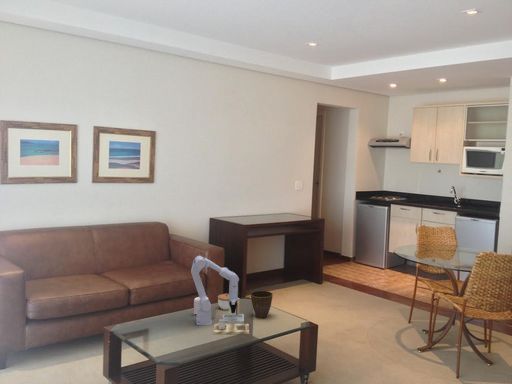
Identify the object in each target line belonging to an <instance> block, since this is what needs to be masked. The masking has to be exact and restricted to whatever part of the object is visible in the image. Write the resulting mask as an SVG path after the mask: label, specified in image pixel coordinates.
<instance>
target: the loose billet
mask: <svg viewBox="0 0 512 384" xmlns="http://www.w3.org/2000/svg"><path fill="white" fill-rule="evenodd" d="M228 314H229V315H238V314H239V303H238V304H237V306H236V310H235V313H231V307H230V305H229V310H228Z"/></svg>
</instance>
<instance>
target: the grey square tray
mask: <svg viewBox="0 0 512 384" xmlns="http://www.w3.org/2000/svg"><path fill="white" fill-rule="evenodd" d="M222 319H225V324H245V314H244V313H238V315H229V313H223V314H222Z"/></svg>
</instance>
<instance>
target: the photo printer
mask: <svg viewBox="0 0 512 384" xmlns="http://www.w3.org/2000/svg"><path fill="white" fill-rule="evenodd" d="M193 300H194V301H193V315H194V314H197V310H200V308H201V305H200V298H199V296H198V297H195V298H194V299H193ZM208 300H209V298H208ZM209 301H210V300H209Z"/></svg>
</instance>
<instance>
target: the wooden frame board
mask: <svg viewBox="0 0 512 384" xmlns="http://www.w3.org/2000/svg"><path fill="white" fill-rule="evenodd" d="M237 328H245V329H237ZM212 334H213V335H250V324H249V323H244V324H225V330H219V323H214V325H213V331H212Z"/></svg>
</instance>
